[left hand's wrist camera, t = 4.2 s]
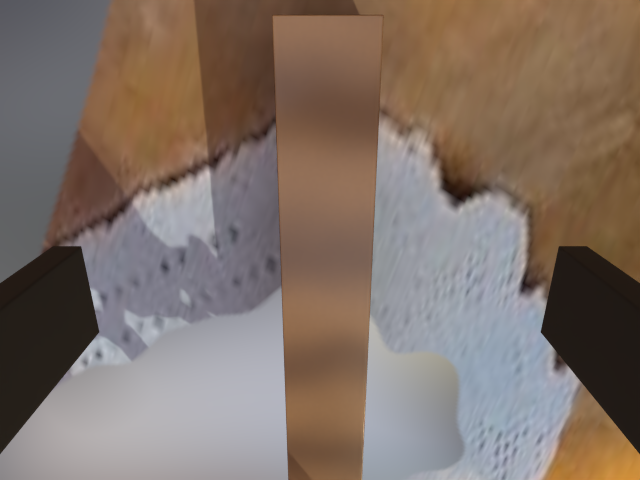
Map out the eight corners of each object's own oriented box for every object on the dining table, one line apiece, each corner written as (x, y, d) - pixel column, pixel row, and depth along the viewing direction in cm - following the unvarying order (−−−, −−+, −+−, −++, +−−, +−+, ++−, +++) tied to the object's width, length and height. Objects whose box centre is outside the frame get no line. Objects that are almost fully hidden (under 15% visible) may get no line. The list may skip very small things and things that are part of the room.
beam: (286, 28, 28) (272, 14, 20) (366, 28, 28) (383, 14, 20) (300, 570, 47) (295, 674, 39) (348, 571, 47) (352, 675, 39)
